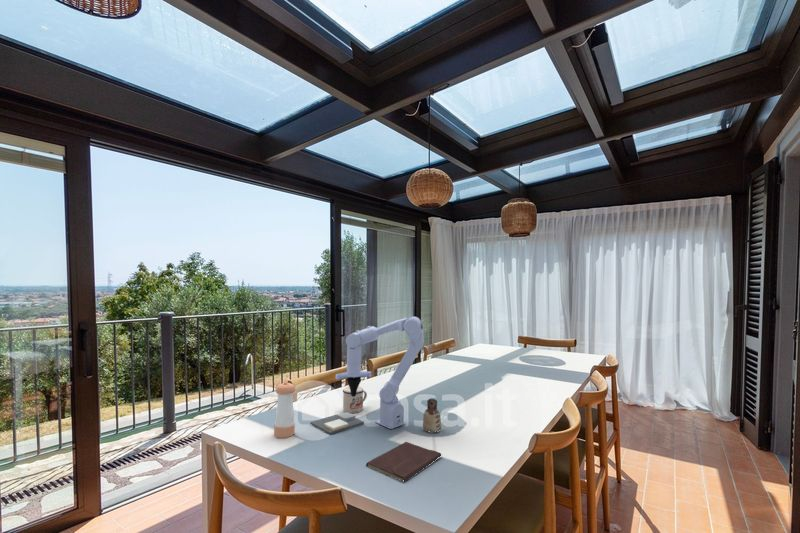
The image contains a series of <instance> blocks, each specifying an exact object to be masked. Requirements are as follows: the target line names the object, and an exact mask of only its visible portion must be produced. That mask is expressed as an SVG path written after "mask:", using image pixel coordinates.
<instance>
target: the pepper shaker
mask: <svg viewBox="0 0 800 533" xmlns="http://www.w3.org/2000/svg"><path fill="white" fill-rule="evenodd" d="M295 391H296V387H295V385H294V383H290V382H288V381H284V382H283V383H279V384H277V386H276V388H275V393H276V394H277V405H276V412H275V419H274V420H275V422H274V423H275V424H274V426H273V427H274V428H273V436H274V437H275V438H278V439H286V438H289V436H290V437H292V436H294V435H295V433H296V432H295V430H296V429H295V428H296V427H295V426H296V424H295V411H294V409H295V408H294V401H293V400H294V393H295ZM293 434H294V435H293ZM285 437H286V438H285Z"/></svg>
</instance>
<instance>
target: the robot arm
mask: <svg viewBox="0 0 800 533" xmlns="http://www.w3.org/2000/svg"><path fill="white" fill-rule="evenodd" d="M394 331H399V332H404V333H406V335H407V336H408V338H409V341H410V345H409V346H408V347H407V349H406V352H405V353H404V355H403V356H402V358H401V360H400V362H399V363H398V365H397V367H396V369H395V370H394V372H393V374H392V375H391V377H390V379H389V380H388V381H386V382H385V384H384V385H383V387H382V388H381V389H380V391H379V394H378V395H379V398H380V400H379V402H380V403H379V409H380V410H379V419H378V420H375V423H376V424H378V425H380V426H383V427H385V428H387V429H394V428H395V429H396V428H397V427H400V426H403V425H406V422H405V421H404V418H405V416H404V415H405V409H404V406H403V405H402V404H401V403H400V402H399V397H398V393H399V390H400V388H399V387H400V385H401V383H403V380H404V378H405V376H406V374H408V371H409V370H410V368H411V366H412V364H413V363H414V362H415V359H416V358H417V356H418V355H419V352H420V351H421V349H422V348H423V346H424V343H425V342H424V341H425V340H424V339H425V338H424V325H423V322H422V321H421V319H420V318H419V317H417V316H410V317H409V318H408V317H404V318H401V319H397V320H394V321H392V322H389V323H387V324H384V325H382V326H378V327H375V326H374V325H368V326H366V328H363V329H361V330H359V329H357V330H356V331H355V332H352V333H350V334H348V335H347V336H346V338H345V344H346V346H347V350H346V372H339V373H336V374H335V380H337V381H340V380H344V379H346V381H347V384H348V386H349V387H350V391H351V396H352V397H354V396H356V392H357V388H358V386H359V387H360V384H361V382H362V379H361V378H372V371H362V345H366V344H368V343H371V342H374V341H377V340H378V339H379V336H381V335H384V334H385V335H386V334H388V333H390V332H394Z"/></svg>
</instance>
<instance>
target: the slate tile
mask: <svg viewBox="0 0 800 533" xmlns="http://www.w3.org/2000/svg"><path fill="white" fill-rule="evenodd" d="M336 415H337V418H338V419H341V420H343V421H345V422H346V421H349V420H353V419H355V418H356V415H354V413H348V412H345V411H344V412H341V414H340V413H337V414H336Z"/></svg>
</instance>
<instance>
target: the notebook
mask: <svg viewBox="0 0 800 533" xmlns="http://www.w3.org/2000/svg"><path fill="white" fill-rule="evenodd" d="M441 455H442V453H441V452H440V451H436V450H432V449H427V448H425V447H422V446H419V445H416V444H414V443H410V442H408V441H405V442H403V443H401V444H399V445H397V446H395V447H394V448H391V449H389V451H386V452H384V453H382V454H381V455H379V456H377V457H375V458H373V459H371V460H369V461H368V462H366V465H365V466H366V467H368V468H370V469H373V470H375V471H377V472H379V471H380V473H382V474H384V473H385V474H384V475H386V474H387V475H386V476H388V475H389V477H391V476H392V478H393V477H394V478H393V479H395V478H397V479H396V480H398V479H400V480H402V481H403V480H404V482H403V483H405V481H406V480H407V481H409V480H410V479H412V478H413V477H415V476H416V475H417V474H416V473H418V472H419V471H421V470H422V469H423V468H425V467H426V466H428V465H429V464H431V463H432V462H433V461H435V460H436V459H437V458H438V457H440V456H441ZM431 465H432V464H431ZM428 467H429V466H428ZM425 469H426V468H425ZM422 471H423V470H422ZM422 471H421V472H422ZM419 473H420V472H419ZM419 473H418V474H419ZM415 474H416V475H415ZM414 475H415V476H414ZM412 476H413V477H412ZM411 477H412V478H411ZM409 478H410V479H409ZM408 479H409V480H408ZM400 480H399V481H400ZM402 481H401V482H402ZM407 481H406V482H407Z"/></svg>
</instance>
